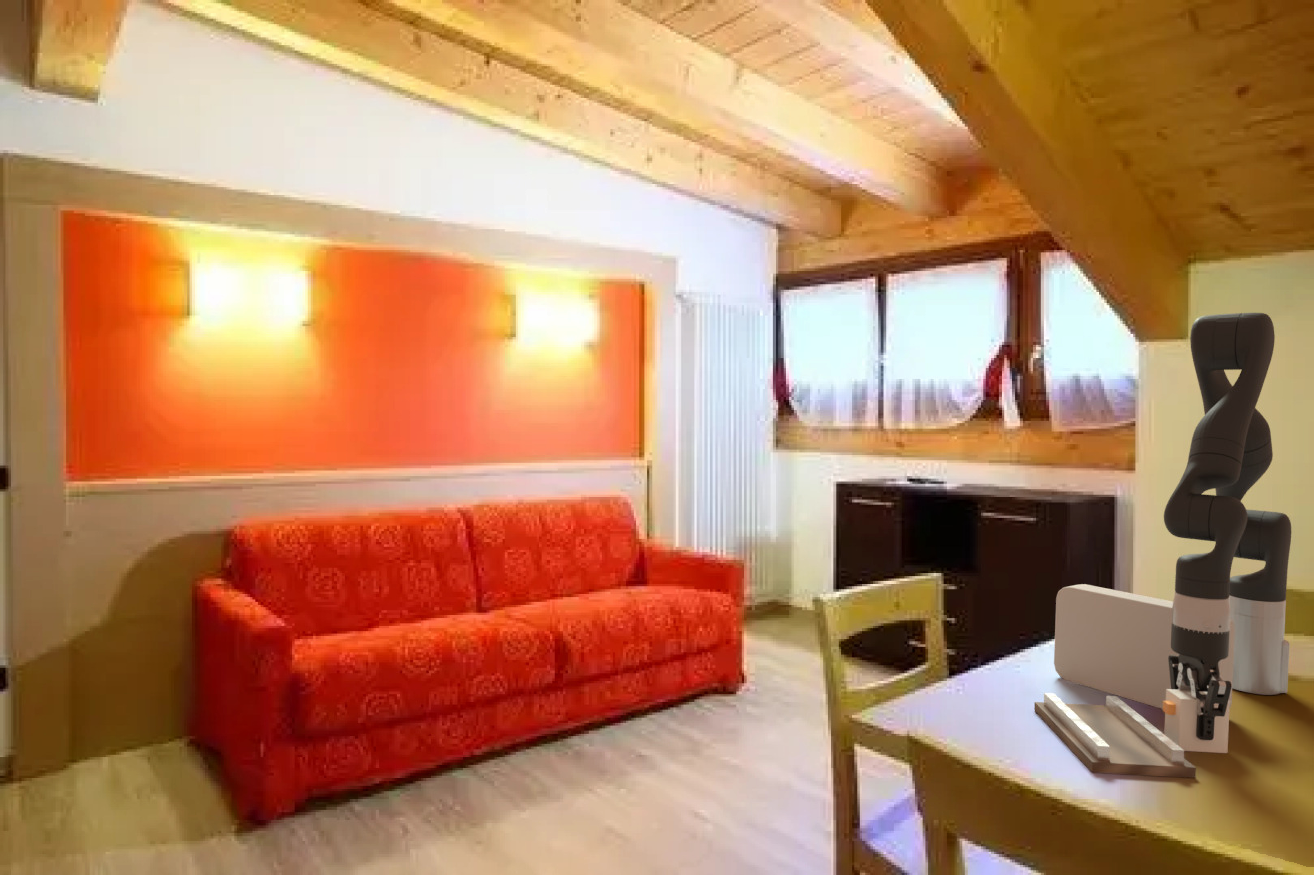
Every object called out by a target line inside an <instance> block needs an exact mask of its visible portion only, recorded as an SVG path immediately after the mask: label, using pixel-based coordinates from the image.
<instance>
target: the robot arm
mask: <svg viewBox="0 0 1314 875" xmlns="http://www.w3.org/2000/svg"><path fill="white" fill-rule="evenodd" d="M1275 337H1276V336H1275V326H1274V323H1273V321H1272V318H1271V317H1270V316H1269V315H1268V314H1267V313H1264V312H1242V313H1241V312H1239V313H1223V314H1209V315H1202V316H1199V317H1198V318H1196V319H1195V320H1194V322H1193V324H1192V326H1191V329H1190V337H1189V338H1190V339H1189V342H1190V351H1191V358H1192V362H1193V366H1194V370H1195V374H1196V378H1197V379H1196V380H1197V382H1198V383H1197V384H1198V386H1199V391H1200V395H1201V400H1202V406H1203V411H1204V416H1203V417H1202V418H1201V419H1200V421H1199V422H1198V424H1197V425H1196V427H1195V428H1194V432H1193V434H1192V437H1191V442H1190V443H1191V444H1190V448H1189V452H1188V458H1187V462H1186V468H1185V470H1184V472H1183V474H1182V476H1181V478H1180V479H1179V482H1178V484H1177V485H1176V487H1175V488H1174V491H1173V492H1172V494H1171V495H1170V497H1169V499H1168V501H1167V504H1166V506H1165V508H1164V513H1163V521H1164V525H1165V528H1166V529H1167V531H1168V532H1169V534H1171V535H1172V536H1174V537H1176V538H1181V539H1188V540H1189V539H1190V540H1197V541H1198V540H1199V541H1206V542H1207V541H1209V542H1214V543H1215V544H1214V546H1213V547H1214V548H1213V549H1212V550H1211V551H1209V552H1205V553H1203V552H1202V553H1189V554H1183V555H1181V556H1179V557H1178V558H1177V559H1176V564H1175V575H1174V576H1175V579H1174V580H1175V581H1174V583H1175V584H1174V597H1173V606H1172V627H1171V649H1172V650H1173V651H1174V652H1176V653H1178V654H1179V655H1169V657H1168V661H1169V671H1170V682H1171V689H1179V690H1185V691H1191V694H1192V698H1193V699H1196V700H1197V713H1198V714H1197V725H1196V737H1197V738H1199V739H1200V740H1213V738H1214V719H1215V717H1216V716H1222V717H1224V716H1225V712H1226V708H1227V704H1228V700H1229V696H1230V691H1231V687H1232V690H1236V691H1241V692H1245V693H1249V694H1255V695H1264V696H1266V695H1267V696H1273V695H1280V694H1287V693H1288V684H1289V682H1288V681H1289V665H1290V664H1289V660H1290V659H1289V658H1290V641H1288V640H1286V639H1285V630H1286V628H1285V627H1286V607H1287V606H1286V604H1287V584H1288V568H1289V558H1290V552H1291V544H1292V542H1291V541H1292V523H1291V519H1290V517H1289V516H1288V515H1287V514H1286V513H1284V512H1278V511H1268V510H1258V509H1257V510H1255V509H1246V506H1245V505H1244V503H1243V502H1242V500H1243V498H1244V496H1246V494H1247V492H1249V490H1250V489H1251V488H1252V487H1253V486H1254V485H1255V484H1256V483H1257V482H1258V481H1259V480H1260V479H1261V478H1262V477H1263V475H1264V474H1265V473H1266V472H1267V471H1268V469H1269V468H1270V466H1271V463H1272V461H1273V455H1274V454H1273V444H1272V435H1271V428H1270V425H1269V423H1268V421H1267V420H1266V418H1265V417H1264V416H1263V414H1262V413H1261V412H1260V411H1259V410H1258V409H1257V408H1256V406H1257V404H1258V401H1259V398H1260V396H1261V392H1262V390H1263V386H1264V383H1265V380H1266V378H1267V374H1268V371H1269V368H1270V365H1271V361H1272V358H1273V354H1274V347H1275ZM1231 370H1232V371H1237V370H1239V371H1240V373H1239V375H1238V378H1237V379H1236V381H1235V382H1234V384H1233V385H1232V383H1231V382H1230V380H1229V378H1228V375H1227V374H1226V371H1231ZM1213 489H1214V490H1215V495H1214V494H1205V492H1207V491H1209V490H1213ZM1203 493H1204V494H1203ZM1234 558H1238V559H1245V560H1253V561H1254V560H1255V561H1262V562H1265V565H1264V567H1263V568H1261V569H1259V570H1258V571H1254V572H1252V573H1246V574H1239V575H1234V576H1231V570H1232V567H1233V566H1232V565H1233V561H1234ZM1230 618H1231V620H1232V621H1233V624H1234V628H1235V639H1234V661H1233V683H1232V685H1231V682H1230V681H1223V680H1222V679H1221V678H1220V677H1219V676H1220V671H1219V666H1218V662H1219V661H1220V660H1222V659H1226V658H1227V657H1228V655H1229V633H1230ZM1178 670H1179V671H1178ZM1199 691H1201V692H1207V694H1200V693H1199ZM1204 699H1206V701H1205V705H1203V700H1204ZM1217 704H1219V705H1218V708H1217Z"/></svg>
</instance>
